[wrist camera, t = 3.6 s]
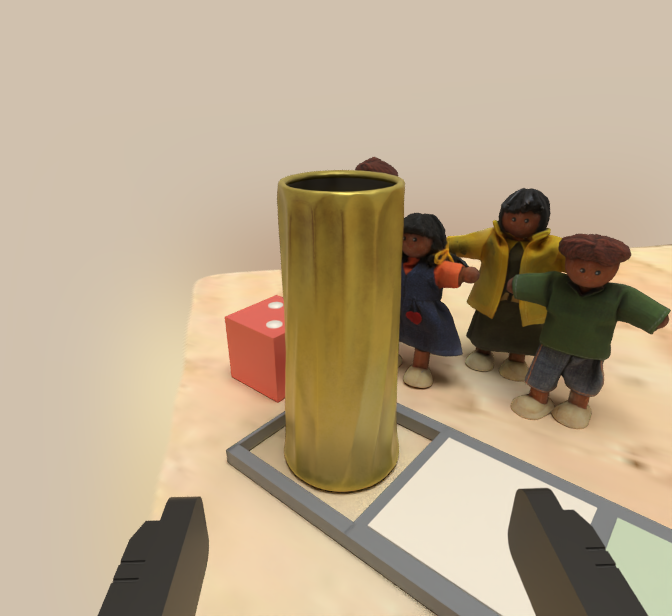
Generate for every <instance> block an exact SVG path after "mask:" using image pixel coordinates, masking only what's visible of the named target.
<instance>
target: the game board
mask: <svg viewBox="0 0 672 616" xmlns="http://www.w3.org/2000/svg"><path fill="white" fill-rule="evenodd" d="M396 421H397V423H398V424H400V425H402V426H404V427H406V428H408V429H410V430H412V431H414V432H416V433H418V434H420V435H422V436H424V437H426V438H428V439H431V440H433V441H432V442H431V443H430V444H429V445H428V446H427V447H426V448H425V449H424V450H423V451H422V452H421V453H420V454H419V455H418V456H417V457H416V458H415V459H414V460H413V461H412V462H411V463H410V464H409V465H408V466H407V468H406V469H405V470H404V471H403V472H402V473H401V474H400V475H399V476H398V477H397V478H396V479H395V480H394V481H393V482H392V483H391V484H390V485H389V486H388V487H387V488H386V489H385V490H384V491H383V492H382V493H381V494H380V495H379V496H378V497H377V499H376V500H375V501H374V502H373V503H372V504H371V505H370V506H369V507H368V508H367V509H366V510H365V511H364V512H363V513H362V514H361V515H360V516H359V517H358V518H357V519H356V520H355V521H354V522H352V521H351V520H349V519H348V518H347V517H345V516H344V515H342V514H341V513H339V512H338V511H336V510H335V509H333V508H332V507H330V506H329V505H327V504H326V503H324V502H323V501H322V500H320V499H319V498H317V497H316V496H314V495H313V494H311V493H310V492H308V491H307V490H305V489H304V488H302V487H301V486H299V485H298V484H297V483H295V482H294V481H292V480H291V479H289V478H288V477H286V476H285V475H283V474H282V473H280V472H279V471H277V470H276V469H274V468H273V467H272V466H270V465H269V464H267V463H266V462H264V461H263V460H261V459H260V458H258V457H257V456H255V455H254V454H252V453H251V452H249V450H251V449H252V448H253V447H255V446H256V445H258V444H259V443H261V442H262V441H263V440H265V439H266V438H268V437H269V436H271V435H272V434H274V433H275V432H276V431H278V430H279V429H281V428H282V427H284V426H285V425H286V416H285V411H284V412H283V413H281V414H280V415H278V416H277V417H275V418H274V419H272V420H270V421H269V422H267V423H266V424H264V425H263V426H261V427H260V428H258V429H257V430H255V431H254V432H252V433H251V434H249V435H248V436H246V437H245V438H243V439H242V440H240V441H239V442H237V443H236V444H234V445H233V446H231V447H230V448H228V449H227V450H226V453H227V461H228V463H230V464H231V465H233V466H234V467H235V468H237V469H238V470H239V471H241V472H242V473H244V474H245V475H246V476H248V477H249V478H250V479H252V480H253V481H254V482H256V483H257V484H259V485H260V486H261V487H263V488H264V489H265V490H267V491H268V492H270V493H271V494H272V495H274V496H275V497H276V498H278V499H279V500H281V501H282V502H283V503H285V504H286V505H287V506H289V507H290V508H291V509H293V510H294V511H296V512H297V513H298V514H300V515H301V516H302V517H304V518H305V519H307V520H308V521H309V522H311V523H312V524H313V525H315V526H316V527H318V528H319V529H320V530H322V531H323V532H324V533H326V534H327V535H328V536H330V537H331V538H333V539H334V540H335V541H337V542H338V543H339V544H341V545H342V546H344V547H345V548H346V549H348V550H349V551H350V552H352V553H353V554H354V555H356V556H357V557H359V558H360V559H361V560H363V561H364V562H365V563H367V564H368V565H370V566H371V567H372V568H374V569H375V570H376V571H378V572H379V573H381V574H382V575H383V576H385V577H386V578H387V579H389V580H390V581H391V582H393V583H394V584H396V585H397V586H398V587H400V588H401V589H402V590H404V591H405V592H407V593H408V594H409V595H411V596H412V597H413V598H415V599H416V600H418V601H419V602H420V603H422V604H423V605H424V606H426V607H427V608H428V609H430V610H431V611H433V612H434V613H435V614H437V615H438V616H536V615H535V612H534V610H533V608H532V605H531V603H530V600H529V598H528V595H527V593H526V591H525V588H524V586H523V583H522V581H521V578H520V576H519V574H518V571H517V569H516V566H515V564H514V561H513V559H512V556H511V553H510V550H509V545H508V527H509V522H510V517H511V512H512V508H513V503H514V498H515V494H516V491H517V490H518V489H524V488H549V489H550V490H552V492H553V493H554V495H555V496H556V498H557V500H558V501H559V503H560V505H561V507H562V508H563V510H575V511H576V512H577V513H578V514H579V515H580V516H581V517H583V518H584V519H585V520H586V521H587V522H588V523H589V524H590V525H591V526H593V528H594V529H595V531H596V533H597V534H598V536H599V537H600V539H601V541H602V542H603V544H604V545H605V549H606V551H608V552H609V553H610V555H611V557H612V558H613V560H614V561H615V563H616V567H617V568H619V569H620V571H621V573H622V574H623V576H624V577H625V579H626V581H627V582H628V584H629V585H630V587H631V589H632V590H633V592H634V594H635V595H636V597H637V598H638V600H639V602H640V603H641V605H642V606H643V608H644V610H645V611H646V613H647V614H648V616H672V529H670V528H668V527H666V526H664V525H661V524H659V523H657V522H655V521H653V520H651V519H648V518H646V517H644V516H642V515H640V514H637V513H635V512H633V511H631V510H629V509H627V508H624V507H622V506H620V505H618V504H616V503H614V502H611V501H609V500H607V499H605V498H603V497H601V496H598V495H596V494H594V493H592V492H590V491H588V490H585V489H583V488H581V487H579V486H577V485H575V484H572V483H570V482H568V481H566V480H564V479H561V478H559V477H557V476H555V475H553V474H551V473H548V472H546V471H544V470H542V469H540V468H538V467H535V466H533V465H531V464H529V463H527V462H525V461H522V460H520V459H518V458H516V457H514V456H512V455H509V454H507V453H505V452H503V451H501V450H499V449H496V448H494V447H492V446H490V445H488V444H485V443H483V442H481V441H479V440H477V439H475V438H472V437H470V436H468V435H466V434H464V433H462V432H459V431H457V430H455V429H453V428H451V427H449V426H446V425H444V424H442V423H440V422H438V421H436V420H433V419H431V418H429V417H427V416H425V415H423V414H420V413H418V412H416V411H414V410H412V409H409V408H407V407H405V406H403V405H401V404H399V403H397V407H396Z"/></svg>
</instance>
